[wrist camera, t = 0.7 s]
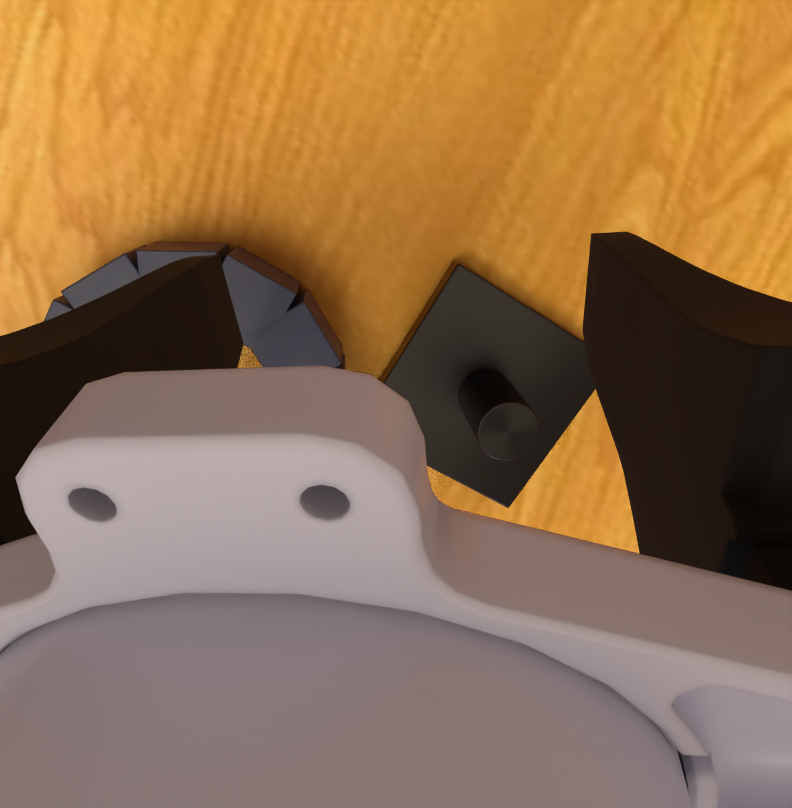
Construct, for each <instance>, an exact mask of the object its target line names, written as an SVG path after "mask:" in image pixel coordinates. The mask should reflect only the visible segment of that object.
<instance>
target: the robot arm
mask: <svg viewBox="0 0 792 808" xmlns="http://www.w3.org/2000/svg"><path fill="white" fill-rule="evenodd" d="M583 335H584V342H585V348H586V354H587V359H588V365H589V370H590V373H591V376H592V379H593V382H594V385H595V388H596V391H597V394H598V397H599V399H600V402H601V405H602V408H603V411H604V414H605V417H606V419H607V422H608V425H609V428H610V431H611V434H612V437H613V439H614V442H615V445H616V448H617V451H618V454H619V457H620V461H621V464H622V468H623V471H624V476H625V481H626V486H627V490H628V495H629V500H630V505H631V510H632V514H633V520H634V525H635V530H636V536H637V541H638V546H639V552H640V554H638V553H634V552H630V551H626V550H622V549H618V548H614V547H610V546H605V545H601V544H597V543H593V542H589V541H585V540H581V539H577V538H573V537H569V536H564V535H560V534H556V533H552V532H548V531H544V530H540V529H536V528H532V527H527V526H523V525H519V524H515V523H511V522H507V521H503V520H499V519H495V518H491V517H486V516H482V515H478V514H474V513H470V512H466V511H462V510H458V509H454V508H450V507H449V506H447V505H445V504H444V503H442V502H441V501H439V500H438V499H437V497H436V496H435V494H434V493H433V491H432V489H431V485H430V481H429V478H428V473H427V462H426V450H425V439H424V435H423V433H422V431H421V428H420V426H419V424H418V422H417V419H416V417H415V415H414V413H413V410H412V408H411V406H410V403H409V401H407V400H406V399H404V398H403V397H402V396H400V395H399V394H397V393H396V392H395V391H393V390H392V389H390V388H389V387H388V386H386V385H385V384H383V383H382V382H381V381H379V380H378V379H376V378H375V377H374V376H372V375H371V374H365V373H360V372H355V371H349V370H344V369H338V368H333V367H328V366H322V365H321V366H292V367H263V368H237V367H238V363H239V359H240V355H241V351H242V347H243V339H242V336H241V332H240V329H239V325H238V321H237V318H236V314H235V310H234V307H233V303H232V300H231V296H230V292H229V289H228V285H227V282H226V278H225V274H224V271H223V267H222V264H221V260H220V256H219V255H209V256H191V257H186V258H183V259H180V260H177V261H174V262H172V263H169V264H167V265H165V266H163V267H160V268H158V269H156V270H154V271H152V272H150V273H148V274H146V275H144V276H142V277H140V278H138V279H136V280H134V281H132V282H130V283H128V284H126V285H124V286H122V287H120V288H118V289H116V290H114V291H112V292H110V293H108V294H105V295H103V296H101V297H99V298H97V299H95V300H93V301H90V302H88V303H86V304H84V305H82V306H80V307H77V308H75V309H73V310H71V311H69V312H66V313H64V314H62V315H59V316H57V317H54V318H52V319H49V320H47V321H44V322H41V323H38V324H36V325H33V326H30V327H27V328H25V329H22V330H19V331H16V332H13V333H10V334H6V335H3V336H0V808H792V302H788V301H785V300H781V299H778V298H775V297H772V296H769V295H766V294H763V293H760V292H757V291H754V290H750V289H747V288H745V287H742V286H740V285H737V284H734V283H732V282H729V281H727V280H725V279H723V278H720V277H718V276H716V275H713V274H711V273H709V272H707V271H704V270H702V269H700V268H698V267H696V266H694V265H692V264H690V263H688V262H686V261H684V260H682V259H680V258H678V257H676V256H675V255H673V254H671V253H669V252H667V251H665V250H663V249H661V248H660V247H658V246H656V245H654V244H652V243H650V242H648V241H647V240H645V239H643V238H641V237H639V236H636V235H634V234H632V233H629V232H611V233H594V234H591V243H590V254H589V265H588V276H587V287H586V298H585V309H584V320H583Z"/></svg>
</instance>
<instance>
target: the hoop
mask: <svg viewBox="0 0 792 808" xmlns="http://www.w3.org/2000/svg"><path fill="white" fill-rule="evenodd" d="M209 255H219V256H220V260H221V264H222V267H223V271H224V274H225V278H226V282H227V285H228V289H229V292H230V296H231V300H232V303H233V307H234V310H235V314H236V318H237V321H238V325H239V329H240V332H241V336H242V339H243V344H244V345H245V346H247V347H249V348H251V350H252V351H253V353H254V354H255V356H256V357H257V359H258V360H259V362H260V363H261V365H262V366H263V367H292V366H321V365H322V366H328V367H333V368H338V369H344V370H345V355H344V354H342V345H341V343H340V341H339V340H338V338H337V336H336V335H335V333H334V331H333V330H332V328H331V326H330V325H329V323H328V321H327V320H326V318H325V316H324V315H323V313H322V311H321V310H320V308H319V306H318V305H317V303H316V301H315V300H314V298H313V296H312V295H311V293H310V291H309V290H308V289H306V290H304V291H302V292H301V293H299V294H297V291H298V288H299V285H300V281H299V280H297V279H296V278H294V277H292V276H290V275H289V274H287V273H285V272H283V271H282V270H280V269H278V268H276V267H275V266H273V265H271V264H269V263H268V262H266V261H264V260H263V259H261V258H259V257H257V256H256V255H254V254H252V253H250V252H249V251H247V250H245V249H243V248H242V247H240V246H238V247H237V248H235V249H234V250H233V251H231V252H230V253H229V244H228V243H210V242H155V243H153V244H150V245H148V246H147V245H144V246H141V247H139V248H136V249H134V250H131V251H129V252H126V253H124V254H122V255H121V256H119V257H117V258H116V259H114V260H112V261H111V262H109V263H107V264H105V265H104V266H102V267H100V268H99V269H97V270H95V271H94V272H92V273H90V274H89V275H87V276H85V277H84V278H82V279H80V280H79V281H77V282H75V283H74V284H72V285H70V286H69V287H67V288H65V289H64V290H62V291H61V292H62V294H63V295H62V296H60V297H58V298H56V299H54V300H53V302H52V304H51V306H50V308H49V311H48V313H47V315H46V317H45V320H44V321H47V320H49V319H52V318H54V317H57V316H59V315H62V314H64V313H66V312H69V311H71V310H73V309H75V308H77V307H80V306H82V305H84V304H86V303H88V302H90V301H93V300H95V299H97V298H99V297H101V296H103V295H105V294H108V293H110V292H112V291H114V290H116V289H118V288H120V287H122V286H124V285H126V284H128V283H130V282H132V281H134V280H136V279H138V278H140V277H142V276H144V275H146V274H148V273H150V272H152V271H154V270H156V269H158V268H160V267H163V266H165V265H167V264H169V263H172V262H174V261H177V260H180V259H183V258H186V257H191V256H209ZM296 294H297V295H296Z"/></svg>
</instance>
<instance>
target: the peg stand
mask: <svg viewBox="0 0 792 808" xmlns="http://www.w3.org/2000/svg"><path fill="white" fill-rule="evenodd" d="M379 381H381V382H382V383H383V384H385V385H386V386H388V387H389V388H390V389H392V390H393V391H395V392H396V393H397V394H399V395H400V396H402V397H403V398H404V399H406V400H407V401H409V403H410V406H411V408H412V410H413V413H414V415H415V417H416V419H417V422H418V424H419V426H420V428H421V431H422V433H423V435H424V439H425V450H426V462H427V466H429V467H431V468H433V469H435V470H436V471H438V472H440V473H442V474H444V475H446V476H448V477H450V478H452V479H454V480H456V481H457V482H459V483H461V484H463V485H465V486H467V487H469V488H471V489H473V490H475V491H477V492H478V493H480V494H482V495H484V496H486V497H488V498H490V499H492V500H494V501H496V502H497V503H499V504H501V505H503V506H505V507H507V508H509V507H510V505H511V504H512V503H513V501H514V500H515V498H516V497H517V496H518V494H519V493H520V492H521V490H522V489H523V487H524V486H525V485H526V483H527V482H528V481H529V479H530V478H531V476H532V475H533V474H534V472H535V471H536V470H537V468H538V467H539V465H540V464H541V463H542V461H543V460H544V459H545V457H546V456H547V455H548V453H549V452H550V450H551V449H552V448H553V446H554V445H555V444H556V442H557V441H558V439H559V438H560V437H561V435H562V434H563V433H564V431H565V430H566V428H567V427H568V426H569V424H570V423H571V422H572V420H573V419H574V417H575V416H576V415H577V413H578V412H579V411H580V409H581V408H582V406H583V405H584V404H585V402H586V401H587V400H588V398H589V397H590V396H591V394H592V393H593V391H594V390H595V389H596V388H595V385H594V382H593V379H592V376H591V373H590V370H589V365H588V359H587V354H586V348H585V342H584V340H582V339H581V338H579V337H578V336H576V335H574V334H573V333H571V332H570V331H568V330H566V329H565V328H563V327H562V326H560V325H558V324H557V323H555V322H554V321H552V320H550V319H549V318H547V317H546V316H544V315H542V314H541V313H539V312H538V311H536V310H534V309H533V308H531V307H530V306H528V305H526V304H525V303H523V302H522V301H520V300H519V299H517V298H515V297H514V296H512V295H511V294H509V293H507V292H506V291H504V290H503V289H501V288H499V287H498V286H496V285H495V284H493V283H491V282H490V281H488V280H487V279H485V278H483V277H482V276H480V275H479V274H477V273H475V272H474V271H472V270H471V269H469V268H467V267H466V266H464V265H463V264H461V263H459V262H458V261H456V260H454V261H453V262H452V264H451V265H450V267H449V269H448V270H447V272H446V273H445V275H444V277H443V278H442V280H441V281H440V283H439V285H438V286H437V288H436V290H435V291H434V293H433V294H432V296H431V298H430V299H429V301H428V302H427V304H426V306H425V307H424V309H423V310H422V312H421V314H420V315H419V317H418V319H417V320H416V322H415V323H414V325H413V327H412V328H411V330H410V331H409V333H408V335H407V336H406V338H405V339H404V341H403V343H402V344H401V346H400V348H399V349H398V351H397V352H396V354H395V356H394V357H393V359H392V360H391V362H390V364H389V365H388V367H387V368H386V370H385V372H384V373H383V375H382V376H381V378H380V380H379Z"/></svg>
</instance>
